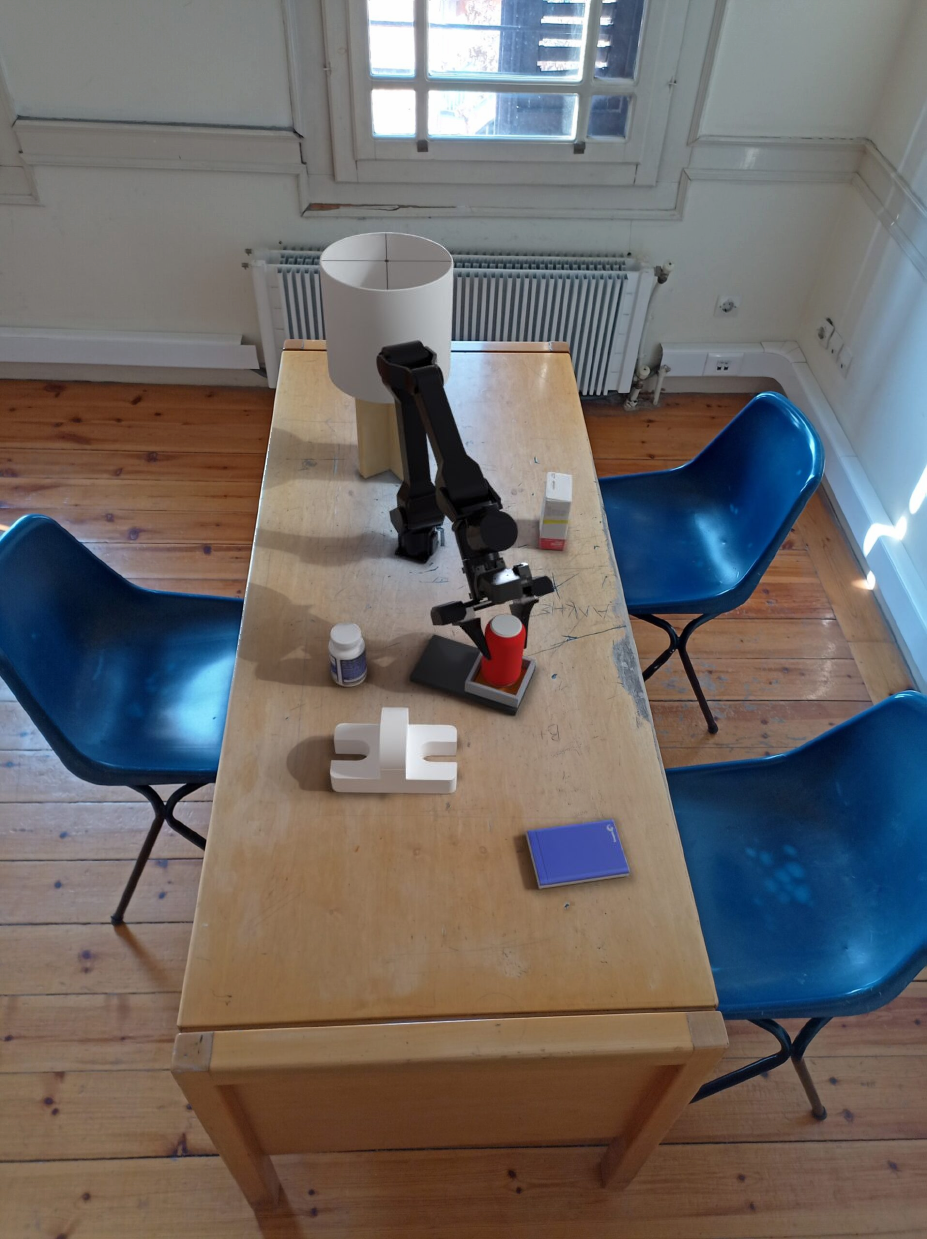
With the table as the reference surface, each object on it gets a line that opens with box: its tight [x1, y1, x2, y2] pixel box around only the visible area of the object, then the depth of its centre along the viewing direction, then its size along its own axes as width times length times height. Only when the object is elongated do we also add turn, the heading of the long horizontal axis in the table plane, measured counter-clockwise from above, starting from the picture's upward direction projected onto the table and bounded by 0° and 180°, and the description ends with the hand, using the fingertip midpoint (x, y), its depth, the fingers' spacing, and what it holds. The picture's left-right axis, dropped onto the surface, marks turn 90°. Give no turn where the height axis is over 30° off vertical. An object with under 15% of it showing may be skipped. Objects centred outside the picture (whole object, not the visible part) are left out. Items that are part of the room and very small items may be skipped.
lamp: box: [318, 231, 454, 482], centre depth 162 cm, size 23×23×43 cm
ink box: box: [538, 471, 573, 551], centre depth 160 cm, size 9×5×12 cm, turn 175°
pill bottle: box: [328, 621, 368, 688], centre depth 135 cm, size 6×6×10 cm
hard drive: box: [525, 818, 631, 890], centre depth 117 cm, size 2×8×12 cm
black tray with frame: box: [409, 633, 536, 716], centre depth 138 cm, size 18×10×3 cm, turn 69°
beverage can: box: [481, 613, 526, 687], centre depth 133 cm, size 6×6×12 cm
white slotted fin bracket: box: [329, 706, 458, 795], centre depth 123 cm, size 10×18×11 cm, turn 90°
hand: (506, 654), depth 131 cm, fingers closed on beverage can, 6 cm apart
